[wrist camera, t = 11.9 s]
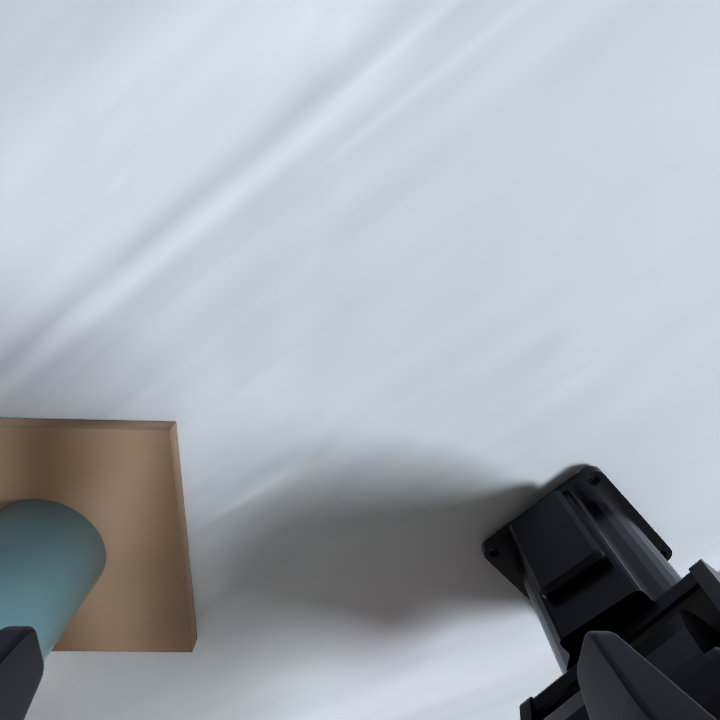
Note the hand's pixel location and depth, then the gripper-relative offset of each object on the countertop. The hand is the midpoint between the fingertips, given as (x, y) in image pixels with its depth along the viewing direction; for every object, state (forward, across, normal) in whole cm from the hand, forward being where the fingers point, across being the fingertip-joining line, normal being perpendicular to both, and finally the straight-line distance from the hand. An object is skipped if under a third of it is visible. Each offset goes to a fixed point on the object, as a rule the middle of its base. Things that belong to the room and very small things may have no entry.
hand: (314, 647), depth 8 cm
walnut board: (+13, +13, +8) cm, 20 cm away
